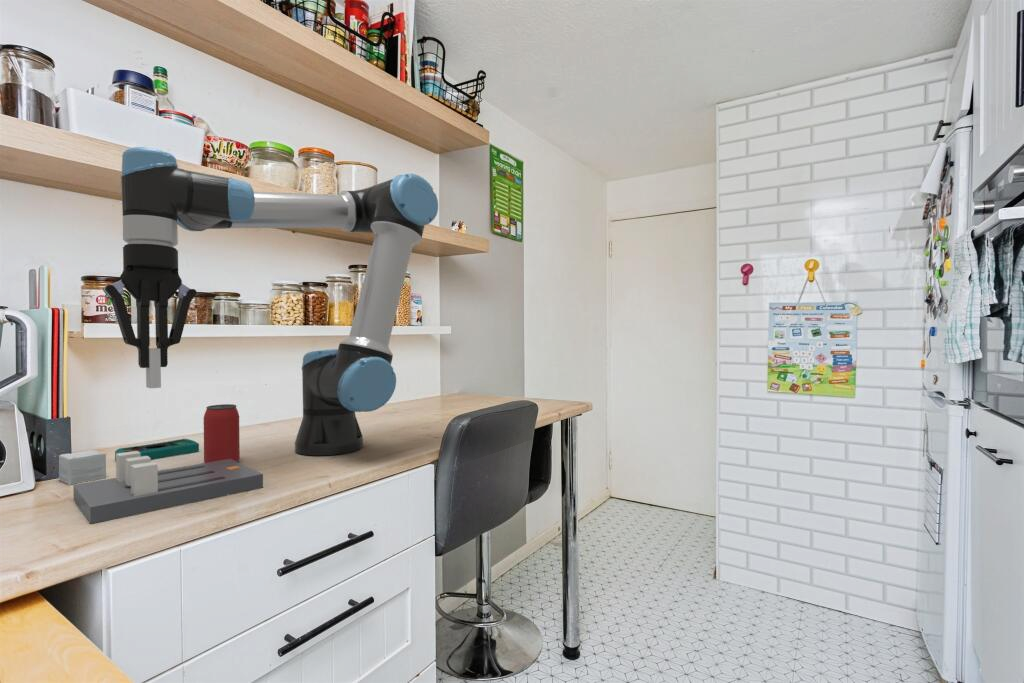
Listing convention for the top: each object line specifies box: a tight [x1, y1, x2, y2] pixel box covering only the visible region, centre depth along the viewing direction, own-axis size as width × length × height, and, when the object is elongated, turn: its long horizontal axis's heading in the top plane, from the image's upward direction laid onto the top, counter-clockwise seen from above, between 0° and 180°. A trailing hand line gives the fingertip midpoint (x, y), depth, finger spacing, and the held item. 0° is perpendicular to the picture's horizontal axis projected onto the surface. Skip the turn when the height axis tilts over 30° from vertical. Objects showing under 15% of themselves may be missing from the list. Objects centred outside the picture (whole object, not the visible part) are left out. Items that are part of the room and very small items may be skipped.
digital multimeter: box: [114, 438, 200, 461], centre depth 116 cm, size 7×15×3 cm, turn 142°
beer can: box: [203, 403, 241, 463], centre depth 109 cm, size 7×7×12 cm
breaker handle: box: [125, 456, 152, 486], centre depth 86 cm, size 3×2×4 cm
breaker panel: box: [72, 451, 264, 525], centre depth 89 cm, size 24×16×7 cm, turn 137°
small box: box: [58, 449, 107, 486], centre depth 97 cm, size 6×6×5 cm
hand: (153, 387), depth 87 cm, fingers closed
